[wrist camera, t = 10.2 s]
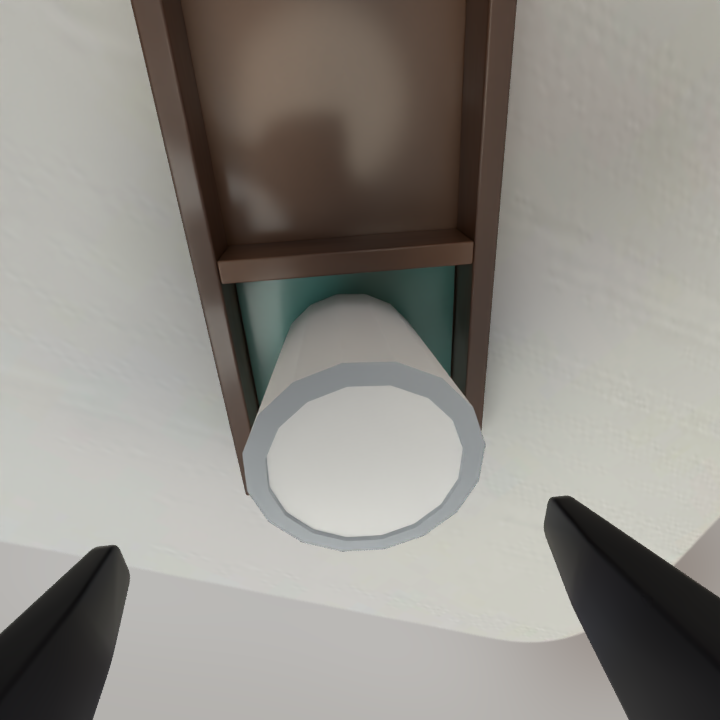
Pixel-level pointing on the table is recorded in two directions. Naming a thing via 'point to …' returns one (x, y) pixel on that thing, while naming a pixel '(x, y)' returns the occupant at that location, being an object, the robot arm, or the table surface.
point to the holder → (334, 168)
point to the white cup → (360, 431)
